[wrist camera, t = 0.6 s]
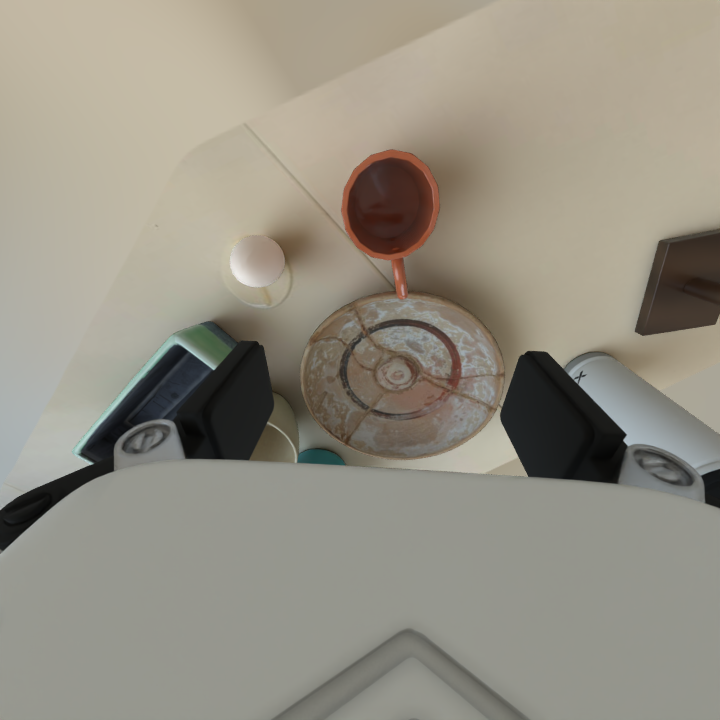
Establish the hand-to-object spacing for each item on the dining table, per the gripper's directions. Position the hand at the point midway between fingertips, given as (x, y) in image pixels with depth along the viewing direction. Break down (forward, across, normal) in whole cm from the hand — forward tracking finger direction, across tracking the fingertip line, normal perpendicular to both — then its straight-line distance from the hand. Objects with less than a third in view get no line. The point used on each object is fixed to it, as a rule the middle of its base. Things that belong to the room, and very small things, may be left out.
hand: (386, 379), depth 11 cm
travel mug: (+24, -26, +14) cm, 38 cm away
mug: (+23, 0, -3) cm, 23 cm away
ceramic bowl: (+23, -2, +14) cm, 27 cm away
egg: (+23, +12, 0) cm, 26 cm away
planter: (+23, +28, +18) cm, 41 cm away
